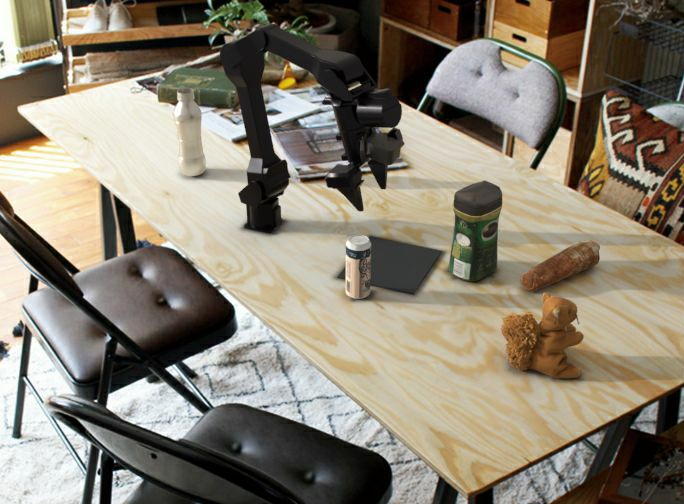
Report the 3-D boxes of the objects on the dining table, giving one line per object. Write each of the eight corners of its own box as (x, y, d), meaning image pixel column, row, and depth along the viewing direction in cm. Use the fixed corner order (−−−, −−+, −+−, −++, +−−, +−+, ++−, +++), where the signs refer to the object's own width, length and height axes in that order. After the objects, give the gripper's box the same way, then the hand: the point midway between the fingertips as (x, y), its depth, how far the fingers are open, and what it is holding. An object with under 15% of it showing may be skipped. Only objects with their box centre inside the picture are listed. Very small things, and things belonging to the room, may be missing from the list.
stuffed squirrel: (584, 379, 179) (595, 316, 171) (504, 381, 178) (511, 318, 170) (570, 346, 187) (581, 284, 179) (494, 348, 186) (501, 286, 178)
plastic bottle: (212, 171, 241) (206, 89, 230) (194, 182, 237) (186, 98, 225) (191, 164, 244) (184, 82, 232) (172, 175, 240) (164, 92, 228)
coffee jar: (473, 255, 213) (480, 173, 201) (502, 270, 208) (511, 186, 197) (441, 271, 207) (446, 187, 196) (470, 287, 203) (478, 202, 192)
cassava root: (600, 269, 209) (604, 245, 206) (532, 298, 200) (535, 273, 196) (578, 256, 213) (582, 232, 210) (510, 284, 204) (513, 260, 200)
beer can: (367, 302, 198) (368, 247, 190) (343, 298, 198) (343, 244, 191) (372, 289, 201) (373, 235, 194) (348, 286, 202) (349, 232, 195)
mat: (337, 277, 204) (337, 276, 204) (369, 237, 218) (369, 235, 218) (413, 294, 200) (413, 293, 200) (441, 251, 214) (441, 250, 213)
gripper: (365, 146, 183) (385, 224, 191) (412, 103, 195) (429, 178, 203) (313, 146, 188) (335, 222, 197) (363, 105, 201) (381, 178, 209)
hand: (372, 199), depth 201 cm, fingers open, 9 cm apart
